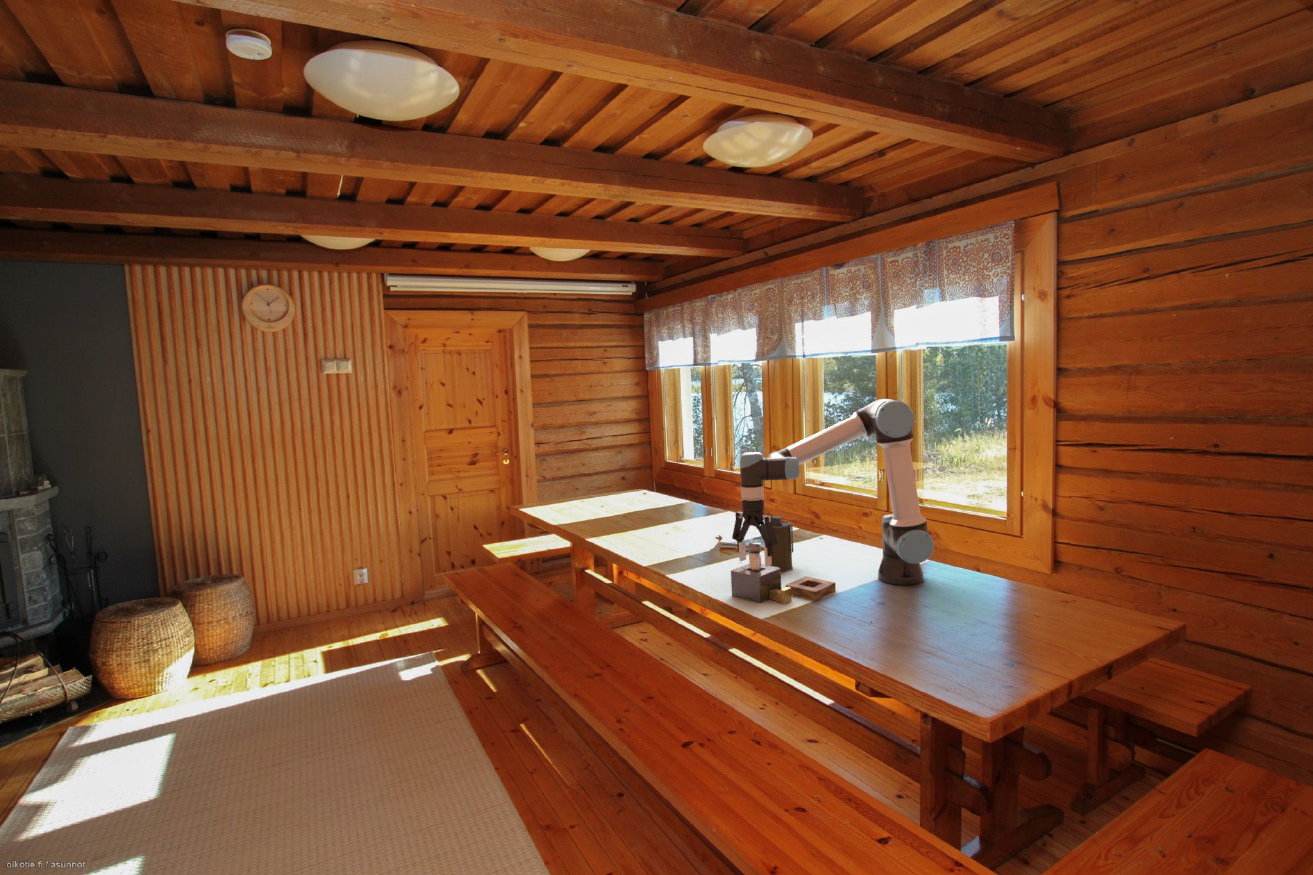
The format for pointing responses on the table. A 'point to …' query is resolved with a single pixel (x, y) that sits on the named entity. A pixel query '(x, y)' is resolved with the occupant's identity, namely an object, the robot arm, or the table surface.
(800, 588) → the brown flat square frame
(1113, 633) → the table surface
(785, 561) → the canister
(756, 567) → the pink cylindrical peg
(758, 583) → the socket block
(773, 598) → the yellow notched block
